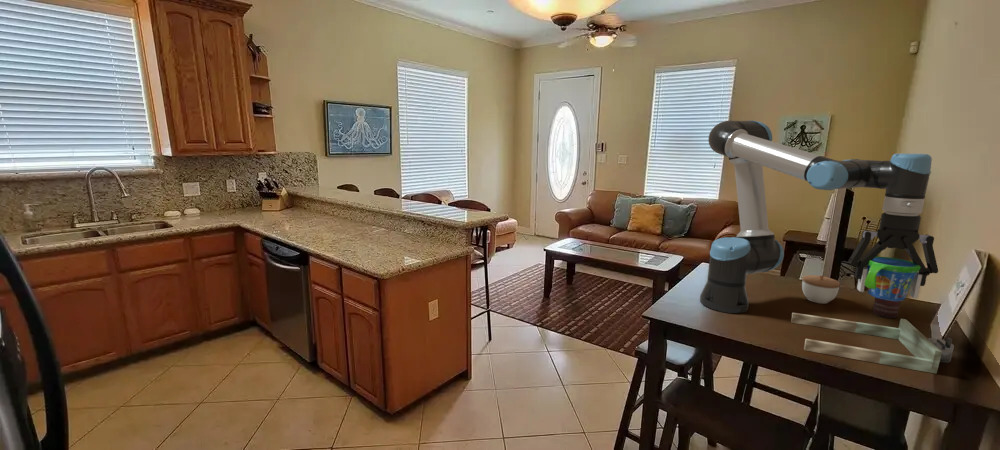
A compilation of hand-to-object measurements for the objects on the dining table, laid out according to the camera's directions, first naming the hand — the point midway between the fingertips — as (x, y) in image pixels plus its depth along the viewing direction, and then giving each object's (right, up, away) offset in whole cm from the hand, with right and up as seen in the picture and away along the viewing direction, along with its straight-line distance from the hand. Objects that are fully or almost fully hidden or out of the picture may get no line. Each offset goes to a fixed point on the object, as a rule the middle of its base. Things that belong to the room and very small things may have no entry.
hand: (886, 293), depth 113 cm
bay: (-4, -15, +6) cm, 17 cm away
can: (+23, -11, +25) cm, 35 cm away
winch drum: (+12, -17, -2) cm, 21 cm away
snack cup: (0, -1, 0) cm, 1 cm away
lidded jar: (+10, -9, +37) cm, 39 cm away
